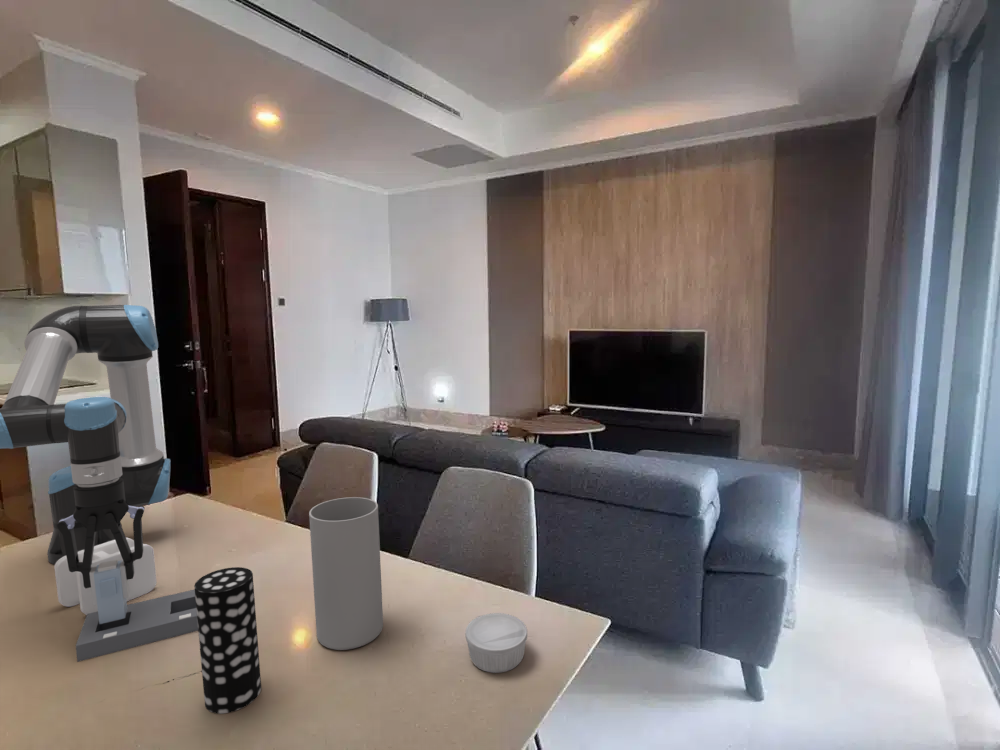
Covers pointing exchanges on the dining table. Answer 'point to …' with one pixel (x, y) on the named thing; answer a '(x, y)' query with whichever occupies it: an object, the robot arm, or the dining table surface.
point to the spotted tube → (228, 639)
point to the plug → (109, 592)
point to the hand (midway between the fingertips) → (111, 598)
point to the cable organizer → (72, 582)
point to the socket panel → (139, 625)
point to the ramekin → (496, 641)
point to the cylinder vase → (346, 572)
